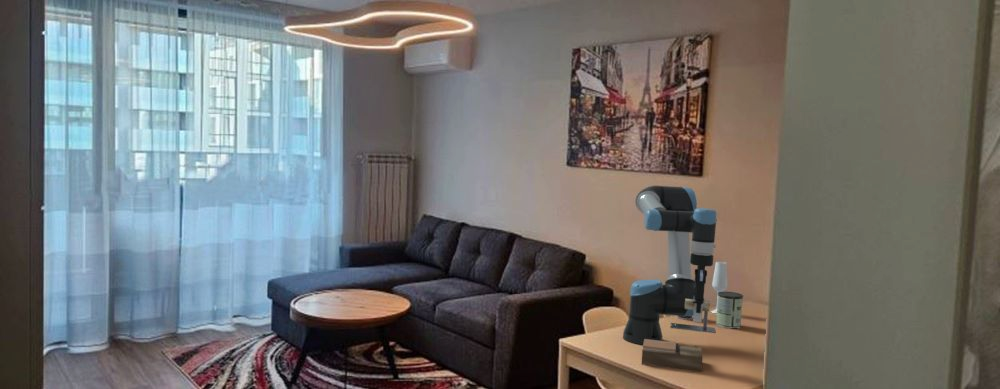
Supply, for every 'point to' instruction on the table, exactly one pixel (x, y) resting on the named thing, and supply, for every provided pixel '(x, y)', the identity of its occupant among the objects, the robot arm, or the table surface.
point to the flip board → (675, 358)
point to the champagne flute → (719, 279)
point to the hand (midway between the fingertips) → (697, 320)
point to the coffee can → (729, 309)
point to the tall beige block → (704, 328)
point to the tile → (659, 345)
